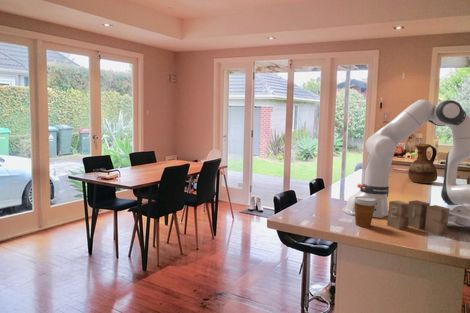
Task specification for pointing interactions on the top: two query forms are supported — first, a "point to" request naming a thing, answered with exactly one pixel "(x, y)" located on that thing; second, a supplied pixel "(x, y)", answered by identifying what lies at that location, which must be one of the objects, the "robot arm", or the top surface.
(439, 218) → the plain walnut block
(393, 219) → the walnut block numbered 2
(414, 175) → the ceramic pitcher
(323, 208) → the top surface
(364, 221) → the disposable coffee cup
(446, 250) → the top surface
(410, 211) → the walnut block numbered 1
